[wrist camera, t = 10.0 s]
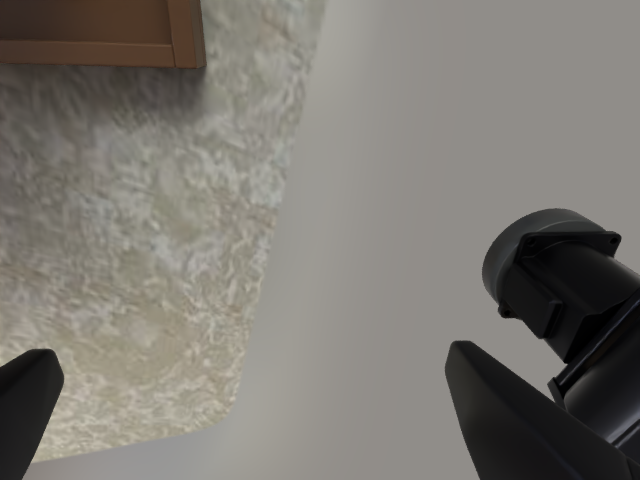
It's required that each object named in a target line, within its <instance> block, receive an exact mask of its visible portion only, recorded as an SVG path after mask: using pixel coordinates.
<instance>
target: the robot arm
mask: <svg viewBox="0 0 640 480" xmlns="http://www.w3.org/2000/svg"><path fill="white" fill-rule="evenodd" d="M530 239H532V240H531V241H530V242H528V241H529V240H530ZM620 242H621V236H620V235H619V234H617V233H616V232H613V231H585V232H528V233H526V234H524V235H523V236H522V237H521V239H520V242H519V245H518V248H517V251H516V254H515V257H514V261H513V264H512V266H511V269H510V272H509V275H508V278H507V282H506V285H505V288H504V291H503V294H502V298H501V301H500V304H499V307H498V313H499V314H500V315H501V317H503V318H521V319H522V320H523V322H524V323H525V324H526V325H527V326H528V328H529V329H530V330H531V331H532V332H533V333H534V335H536V337H537V338H538V339H544V340H545V341H546V342H547V344H548V345H549V346H550V347H551V348H552V349H553V351H554V352H555V353H556V354H557V355H558V356H559V357H560V359H561V360H562V361H563V362H564V363H565V364H568V365H567V366H566V367H565V368H564V369H563V370H562V371H561V372H560V373H559V374H558V375H557V376H556V377H553V378H552V379H551V380H550V381H549V382H548V384H547V385H548V387H549V389H550V392H551V394H552V396H553V398H554V401H555V402H553V401H552V400H550V399H549V398H548V397H546V396H545V395H544V394H542V393H541V392H540V391H538V390H537V389H536V388H534V387H533V386H531V385H530V384H529V383H527V382H526V381H525V380H523V379H522V378H521V377H519V376H518V375H516V374H515V373H514V372H512V371H511V370H510V369H508V368H507V367H506V366H504V365H503V364H501V363H500V362H499V361H497V360H496V359H495V358H493V357H492V356H491V355H489V354H488V353H486V352H485V351H484V350H482V349H481V348H480V347H478V346H477V345H476V344H474V343H472V342H471V341H454V342H452V344H451V346H450V350H449V353H448V357H447V361H446V364H445V375H446V379H447V382H448V386H449V389H450V393H451V396H452V400H453V403H454V407H455V410H456V414H457V417H458V420H459V424H460V428H461V431H462V434H463V437H464V440H465V443H466V445H467V448H468V451H469V453H470V456H471V458H472V461H473V463H474V466H475V468H476V471H477V473H478V476H479V478H480V480H640V275H638V274H637V273H635V272H634V271H632V270H631V269H629V268H628V267H626V266H625V265H623V264H621V263H620V262H618V261H617V260H615V259H614V258H613V257H614V254H615V252H616V250H617V248H618V246H619V244H620ZM506 310H507V311H506ZM63 384H64V374H63V371H62V369H61V366H60V364H59V361H58V358H57V356H56V353H55V352H54V351H53V350H52V349H31V350H29V351H27V352H25V353H23V354H22V355H20V356H18V357H17V358H15V359H13V360H11V361H10V362H8V363H6V364H5V365H3V366H1V367H0V480H22V478H23V476H24V474H25V473H26V470H27V469H28V467H29V465H30V463H31V461H32V459H33V457H34V455H35V452H36V450H37V448H38V446H39V443H40V441H41V439H42V436H43V434H44V431H45V429H46V426H47V424H48V422H49V419H50V417H51V414H52V412H53V409H54V407H55V405H56V402H57V400H58V397H59V395H60V392H61V390H62V388H63Z"/></svg>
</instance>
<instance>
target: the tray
mask: <svg viewBox="0 0 640 480" xmlns="http://www.w3.org/2000/svg"><path fill="white" fill-rule="evenodd" d="M0 63H9V64H44V65H80V66H115V67H150V68H185V69H197V68H200V67H204V66H206V65H207V64H206V54H205V44H204V34H203V24H202V14H201V5H200V0H0Z"/></svg>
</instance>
